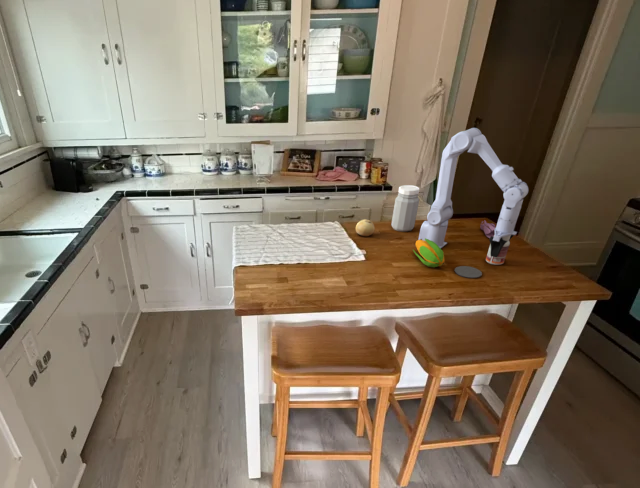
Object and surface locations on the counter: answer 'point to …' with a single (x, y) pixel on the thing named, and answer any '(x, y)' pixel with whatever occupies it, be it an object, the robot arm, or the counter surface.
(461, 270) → the coaster
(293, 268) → the counter surface
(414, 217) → the jar
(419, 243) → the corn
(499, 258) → the pill bottle
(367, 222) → the onion
